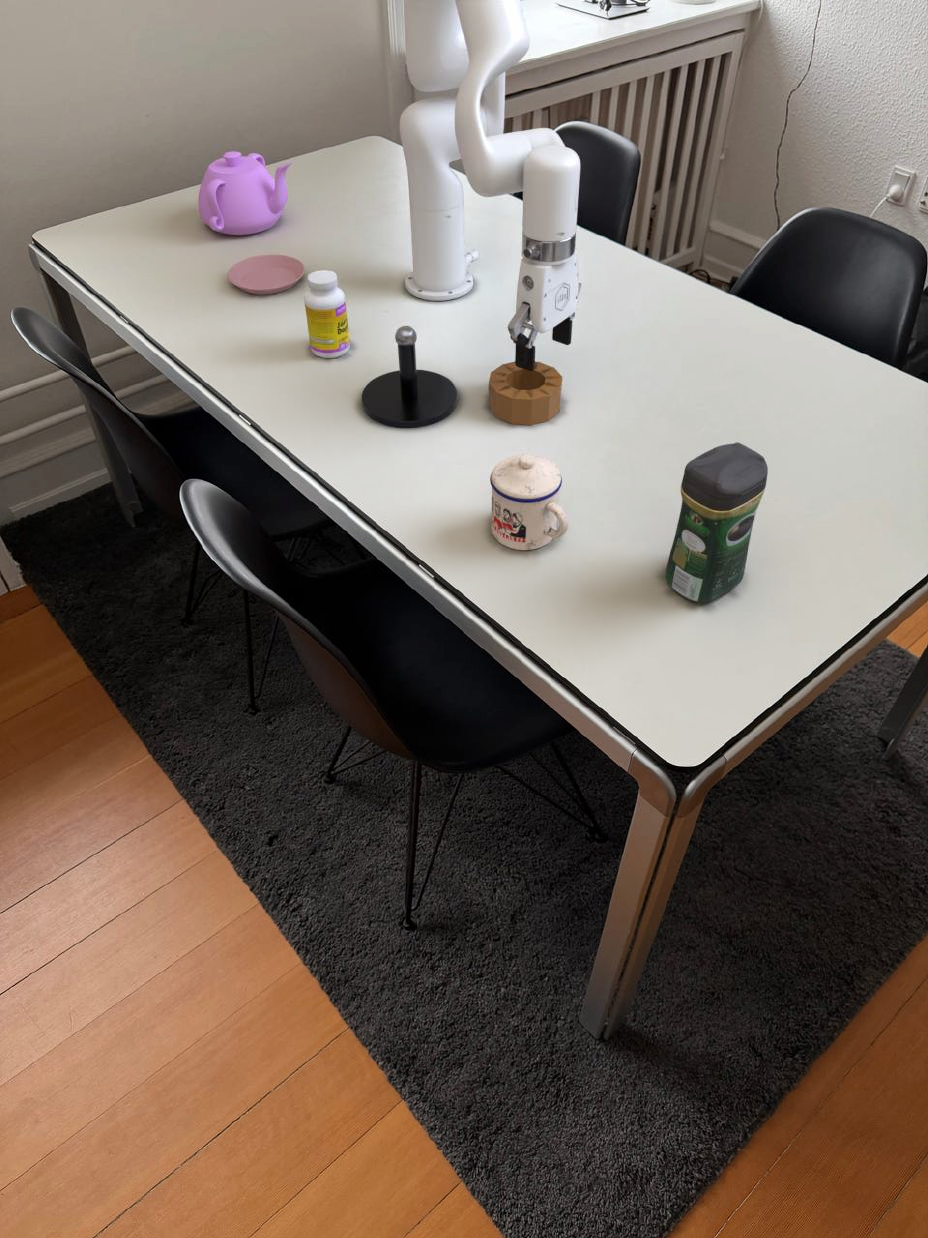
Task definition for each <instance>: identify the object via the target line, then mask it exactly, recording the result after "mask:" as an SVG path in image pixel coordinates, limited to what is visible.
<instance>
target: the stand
mask: <svg viewBox="0 0 928 1238" xmlns="http://www.w3.org/2000/svg"><path fill="white" fill-rule="evenodd" d="M394 338H395V342H396V344H397V355H398V368H399V370H394V371H390V372H387V373H384V374H381V375H379V376H377V377H374V378H373V379H372V380H370V382H368V383H367V384H366V385H365V387H364V388H363V389H362V392H361V397H360V398H361V406H362V409H363V411H364V413H365V414H366V415H367V416H368V417H369V418H370V419H371V420H373V421H375V422H376V423H378V424H381V425H384V426H387V427H392V428H400V429H416V428H424V427H428V426H431V425H434V424H437V423H439V422H441V421H443V420H445V419H446V418H448V417H449V416H450V415H451V414H452V413H453V412H454V411H455V409H456V408H457V405H458V400H459V399H458V390H457V387H456V385H455V384H454V383H453V381H451V380H450V379H449V378H448V377H446V376H444V375H443V374H440V373H437V372H434V371H430V370H426V369H417V353H416V342H417V339H418V338H417V331H416V330H415V329H414V328H413V327H411V326H410V325H403V326H400V327H399V328H398V329H397V330H396V332H395V335H394Z"/></svg>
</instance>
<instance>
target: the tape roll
mask: <svg viewBox="0 0 928 1238" xmlns="http://www.w3.org/2000/svg"><path fill="white" fill-rule="evenodd" d="M562 388H563V376H562V374H560V372H559V371H558V370H557V369H556V367H554V366H552V365H548V364H546V363H543V362H541V361H537V360H535V369H534V370H533V371H532V372H531V371H528V370H525V369H522V368H520V367H517V366H516V365H515V361H511V362H506V363H502V364H501V365H499V366H498V367H496V368H495V369H493V370H492V371H491V372H490V374H489V379H488V409H489V410H490V411H491V413H492V414H493V416H494V417H495V418H496V419H498V420H502V421H504V422H506V423H509V424H511V425H521V426H522V425H523V426H533V425H538V424H542V423H546V422H549V421H551V420H552V419H553V418H554V417H556V415H557V416H558V414H559V413H560V409H561V402H562V390H563V389H562Z"/></svg>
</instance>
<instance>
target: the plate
mask: <svg viewBox="0 0 928 1238" xmlns="http://www.w3.org/2000/svg"><path fill="white" fill-rule="evenodd" d="M227 271H228V272H227V279H228V281H229V282H230V283H231V284H232V285H234V286H236V287H237V288H239V289H240V290H242V291H243V292H245V293H249V294H252V295H259V296H260V295H264V296H265V295H266V296H267V295H275V294H279V293H282V292H285V291H287V290H289V289H291V288H293V286H295V284H297V282H298V281H299V280H300V279H301V278H302V277H303V276H304V274H305V271H306V268H305V265H304V263H303V262H302V261H301V260H299V259H297V258H295V257H292V256H288V255H283V254H261V255H255V256H251V257H248V258H245V259H242V260H240V261H238V262H236V263H235V264H233V265H232V266H231V267H230V268H229V270H227Z"/></svg>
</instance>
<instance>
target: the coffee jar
mask: <svg viewBox="0 0 928 1238" xmlns="http://www.w3.org/2000/svg"><path fill="white" fill-rule="evenodd" d="M768 469H769V467H768V464H767V462H766V459H765V457H764V456H762V455H761V454H760V453H759V452H757V451H756V450H754V449H752V448H750V447H749V446H746V445H745V444H743V443H741V442H738V441H735V442H734V443H726V444H722V445H718V446H716V447H715V446H714V447H712V448H711V449H709V450H707V451H705V452H703V453H701V454H699V455H698V456H696V457H695V458H693V459H692V460H690V461H688V462H687V464H686V465H685V468H684V470H683V476H682V480H681V484H680V495H681V507H680V511H679V515H678V521H677V524H676V528H675V533H674V537H673V541H672V545H671V547H670V548H671V549H670V552H669V555H668V559H667V564H666V568H665V573H664V579H665V582H666V583H667V585H668V586H669V587H670V588H671V589H672V590H673V591H674V592H675V593H676V594H678V595H679V596H680V597H682V598H684V599H686V600H688V601H691V602H694V603H700V604H708V603H710V602H713V601H715V600H718V599H719V598H721V597H723V596H724V595H727V593H729V592H731V591H732V590H733V589H735V588H736V587H737V586H738V585H739V584H740V583H741V582H742V581H743V579H744V575H745V571H746V566H747V560H748V554H749V547H750V542H751V537H752V532H753V526H754V522H755V517H756V514H757V511H758V509H759V505H760V502H761V500H762V498H763V495H764V493H765V490H766V487H767V480H768V473H769V470H768Z"/></svg>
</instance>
